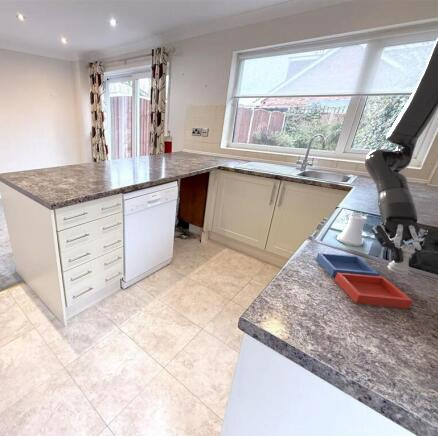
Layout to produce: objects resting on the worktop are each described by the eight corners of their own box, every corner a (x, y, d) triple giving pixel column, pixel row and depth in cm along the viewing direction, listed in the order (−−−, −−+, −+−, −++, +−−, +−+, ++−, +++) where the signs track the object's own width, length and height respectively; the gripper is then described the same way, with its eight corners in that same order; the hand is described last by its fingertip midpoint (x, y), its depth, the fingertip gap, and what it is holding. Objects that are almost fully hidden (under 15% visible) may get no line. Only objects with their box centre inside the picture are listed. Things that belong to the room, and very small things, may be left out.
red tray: (380, 284, 68) (383, 276, 67) (408, 308, 59) (413, 300, 58) (334, 279, 69) (337, 272, 68) (355, 303, 60) (359, 295, 60)
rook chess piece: (403, 269, 71) (415, 244, 68) (411, 277, 67) (423, 252, 64) (384, 265, 73) (394, 241, 70) (390, 273, 69) (401, 248, 66)
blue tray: (355, 262, 78) (357, 255, 77) (376, 281, 69) (379, 273, 68) (315, 259, 79) (318, 252, 78) (331, 276, 71) (334, 269, 70)
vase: (341, 234, 96) (350, 211, 93) (365, 242, 91) (375, 217, 87) (333, 239, 92) (341, 215, 89) (357, 247, 87) (367, 222, 83)
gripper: (376, 198, 71) (386, 256, 65) (436, 203, 68) (453, 264, 62) (360, 209, 78) (368, 262, 72) (414, 214, 75) (428, 270, 68)
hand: (407, 263), depth 67 cm, fingers closed on rook chess piece, 3 cm apart
